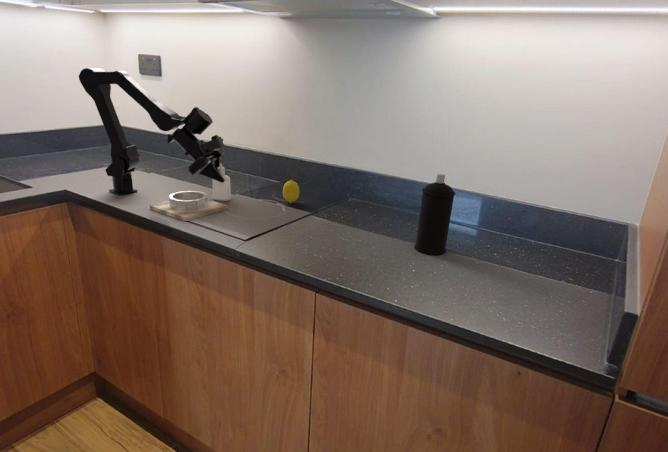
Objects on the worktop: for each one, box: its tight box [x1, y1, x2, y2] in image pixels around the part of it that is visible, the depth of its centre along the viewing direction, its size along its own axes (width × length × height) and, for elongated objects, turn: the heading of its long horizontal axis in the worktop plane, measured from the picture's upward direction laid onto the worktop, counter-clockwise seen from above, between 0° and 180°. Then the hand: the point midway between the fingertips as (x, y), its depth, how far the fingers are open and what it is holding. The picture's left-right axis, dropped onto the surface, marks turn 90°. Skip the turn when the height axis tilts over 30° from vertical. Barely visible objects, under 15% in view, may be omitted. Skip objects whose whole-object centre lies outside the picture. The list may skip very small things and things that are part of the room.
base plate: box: [149, 199, 228, 222], centre depth 130 cm, size 16×16×1 cm
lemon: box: [282, 179, 300, 204], centre depth 141 cm, size 6×6×8 cm
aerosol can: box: [414, 173, 456, 256], centre depth 108 cm, size 8×8×20 cm
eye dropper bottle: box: [211, 163, 232, 202], centre depth 140 cm, size 4×6×12 cm
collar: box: [168, 190, 209, 211], centre depth 129 cm, size 11×11×3 cm
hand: (225, 180), depth 140 cm, fingers closed on eye dropper bottle, 3 cm apart
